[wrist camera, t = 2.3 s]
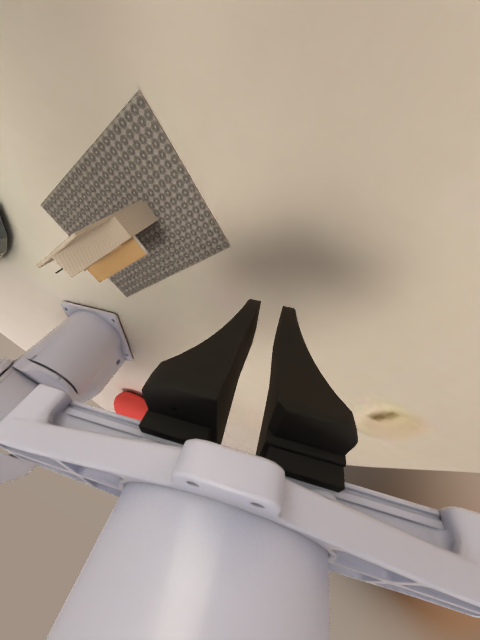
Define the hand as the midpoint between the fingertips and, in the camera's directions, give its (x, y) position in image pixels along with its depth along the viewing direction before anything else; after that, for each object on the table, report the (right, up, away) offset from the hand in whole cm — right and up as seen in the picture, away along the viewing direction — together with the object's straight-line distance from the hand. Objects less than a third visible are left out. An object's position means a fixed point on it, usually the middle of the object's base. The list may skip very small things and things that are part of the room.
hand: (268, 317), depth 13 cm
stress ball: (-20, -16, +32) cm, 41 cm away
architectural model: (-11, +9, +8) cm, 16 cm away
